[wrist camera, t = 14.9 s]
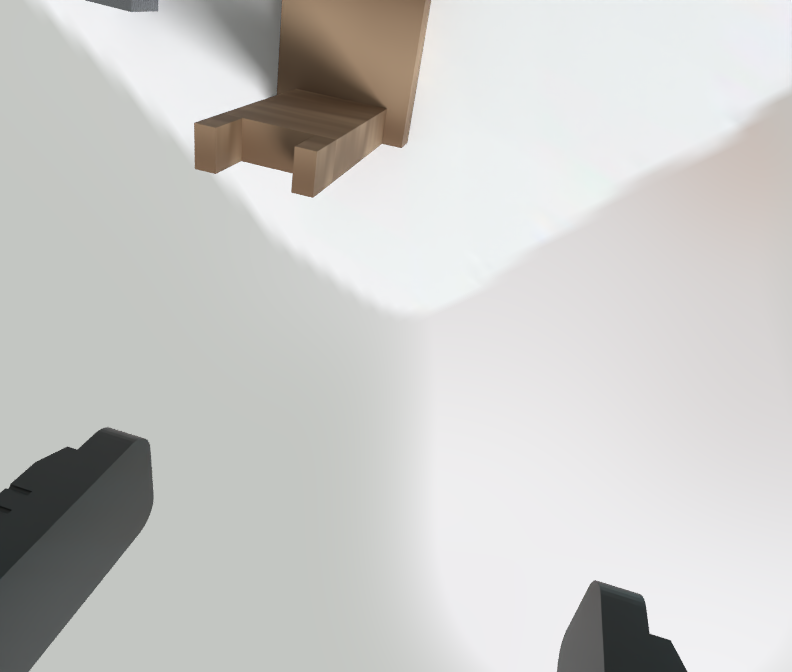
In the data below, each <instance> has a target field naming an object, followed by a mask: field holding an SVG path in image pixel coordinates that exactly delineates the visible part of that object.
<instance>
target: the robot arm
mask: <svg viewBox="0 0 792 672" xmlns="http://www.w3.org/2000/svg"><path fill="white" fill-rule="evenodd" d="M152 482H153V481H152V467H151V452H150V444H149V442H148V440H146V439H144V438H141V437H138V436H135V435H131V434H128V433H125V432H122V431H118V430H115V429H112V428H103V429H101V430H99V431H98V432H96V433H95V434H94V435H93V436H92V437H91V438H90V439H89V440H88V441H86V442H85V443H84V444H83V445H82V446H81V447H80V448H79V449H78V450H76V449H73V448H70V447H66V448H64V449H62V450H60V451H58V452H55V453H53V454H51V455H49V456H47V457H45V458H43V459H41V460H39V461H37V462H35V463H34V464H33V465H32V466H31V467H29V468H28V469H27V470H26V471H25V472H24V473H23V474H21V475H20V476H19V477H18V478H17V479H16V480H15V481H13V482H12V483H11V485H10V487H9V489H4V490H3V491H2V492H1V493H0V672H28V671H29V670H30V669H31V668H32V667H33V665H34V664H35V662H37V660H38V659H39V658H40V657H41V655H42V654H43V653H44V652H45V650H46V649H47V648H48V646H49V645H50V644H51V643H52V641H53V640H54V639H55V638H56V637H57V635H58V634H59V633H60V632H61V630H62V629H63V628H64V627H65V625H66V624H67V623H68V621H69V620H70V619H71V618H72V617H73V615H74V614H75V613H76V612H77V610H78V609H79V608H80V607H81V605H82V604H83V603H84V602H85V600H86V599H87V598H88V597H89V595H90V594H91V593H92V592H93V590H94V589H95V588H96V587H97V585H98V584H99V583H100V582H101V580H102V579H103V578H104V577H105V575H106V574H107V573H108V572H109V571H110V569H111V568H112V567H113V565H114V564H115V563H116V562H117V561H118V559H119V558H120V557H121V555H122V554H123V553H124V551H126V549H127V548H128V547H129V546H130V544H131V543H132V542H133V541H134V539H135V538H136V537H137V536H138V534H139V533H140V532H141V530H142V529H143V527H144V526H145V524H146V522H147V520H148V517H149V515H150V512H151V509H152V505H153V483H152ZM557 672H687V670H686V668H685V666H684V665H683V663H682V661H681V659H680V657H679V655H678V653H677V651H676V650H675V648H674V646H673V644H672V643H671V641H670V640H667V639H664V638H661V637H658V636H655V635H651V634H649V627H648V619H647V612H646V605H645V601H644V598H643V596H642V595H640V594H638V593H634V592H631V591H628V590H625V589H622V588H618V587H615V586H612V585H609V584H606V583H602V582H599V581H596V580H595V581H593V582H592V583H591V584H590V586H589V588H588V590H587V592H586V594H585V595H584V597H583V599H582V601H581V603H580V605H579V607H578V609H577V611H576V613H575V615H574V617H573V619H572V621H571V623H570V625H569V627H568V629H567V630H566V633H565V635H564V638H563V641H562V644H561V649H560V653H559V659H558V669H557Z"/></svg>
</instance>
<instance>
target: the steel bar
mask: <svg viewBox="0 0 792 672" xmlns="http://www.w3.org/2000/svg"><path fill="white" fill-rule="evenodd" d="M86 1H90V2H94V3H98V4H102V5H106V6H110V7H114V8H118V9H122V10H126V11H130V12H144V11H158V0H86Z"/></svg>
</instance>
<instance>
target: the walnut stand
mask: <svg viewBox="0 0 792 672" xmlns="http://www.w3.org/2000/svg"><path fill="white" fill-rule="evenodd" d="M430 3H431V0H282V11H281V29H280V47H279V65H278V83H277V95H276V96H273V97H270V98H267V99H264V100H261V101H258V102H255V103H252V104H249V105H246V106H243V107H240V108H237V109H234V110H231V111H228V112H225V113H222V114H219V115H216V116H213V117H210V118H207V119H204V120H201V121H199V122H196V123H194V137H195V169H198V170H202V171H206V172H210V173H214V174H216V173H218V172H220V171H222V170H224V169H226V168H228V167H230V166H232V165H234V164H236V163H238V162H240V161H243V162H248V163H252V164H256V165H260V166H264V167H268V168H273V169H277V170H281V171H285V172H289V173H293V178H292V191H291V192H292V193H296V194H300V195H304V196H308V197H312V198H313V197H314V196H316V195H317V194H318V193H320V192H321V191H322V190H323V189H325V188H326V187H327V186H329V185H330V184H331V183H332V182H334V181H335V180H336V179H337V178H339V177H340V176H341V175H343V174H344V173H345V172H346V171H348V170H349V169H350V168H352V167H353V166H354V165H355V164H357V163H358V162H359V161H360V160H362V159H363V158H364V157H366V156H367V155H368V154H369V153H371V152H372V151H373V150H375V149H376V148H377V147H378V146H380V145H381V144H386V145H390V146H395V147H399V148H402V147H403V146H404V145H405V144H406V143H407V141H408V135H409V129H410V123H411V117H412V111H413V105H414V99H415V93H416V87H417V81H418V75H419V69H420V63H421V57H422V51H423V45H424V39H425V33H426V27H427V21H428V15H429V9H430Z"/></svg>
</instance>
